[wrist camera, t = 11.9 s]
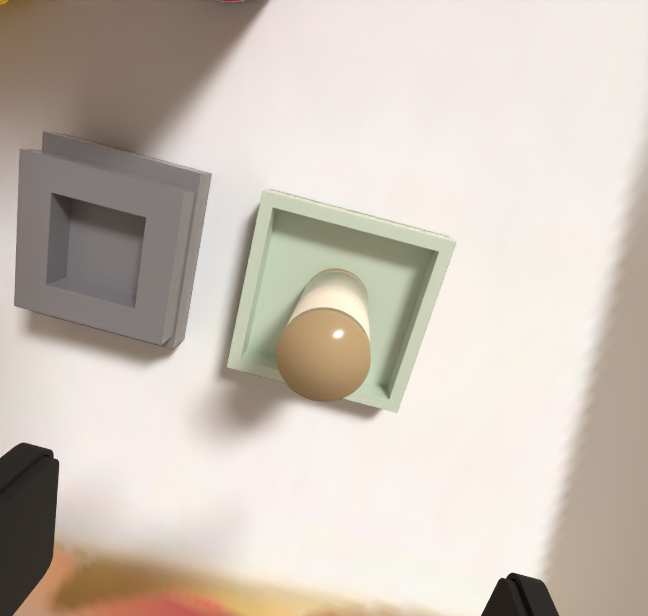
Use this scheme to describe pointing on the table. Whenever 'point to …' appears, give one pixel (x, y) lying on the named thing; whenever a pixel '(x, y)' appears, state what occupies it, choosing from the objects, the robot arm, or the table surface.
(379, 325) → the parts tray
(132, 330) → the socket block
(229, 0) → the soda can
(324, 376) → the cylinder
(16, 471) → the robot arm
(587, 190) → the table surface
